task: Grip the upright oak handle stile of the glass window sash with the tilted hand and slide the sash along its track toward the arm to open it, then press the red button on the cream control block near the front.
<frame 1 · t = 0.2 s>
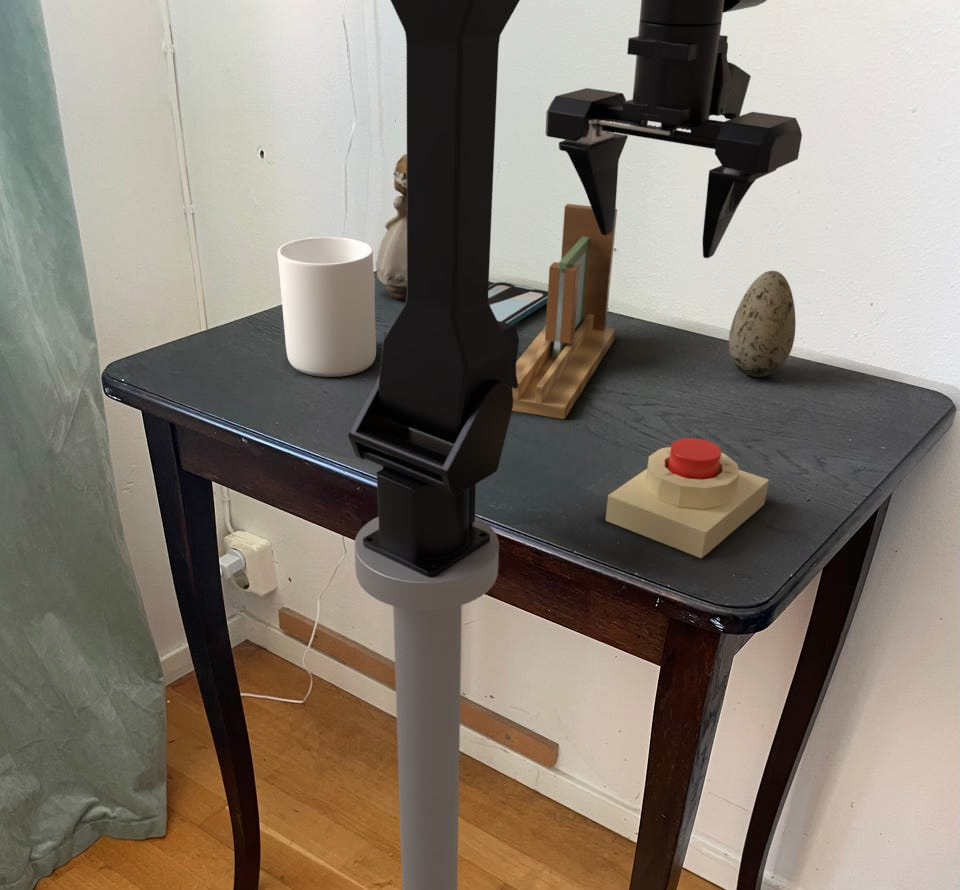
hand: (656, 245, 81), 15 cm above the table, tool pointing down, fingers open, 9 cm apart
smartphone: (492, 316, 111), on the table
decorative egg: (754, 376, 99), on the table
window frame: (558, 368, 99), on the table
figurine: (410, 297, 116), on the table
sash: (571, 296, 98), point 6 cm above the table, slide at 0.0 cm
control block: (685, 512, 77), on the table
button: (694, 459, 74), point 4 cm above the table, slide at 0.1 cm
mug: (342, 358, 101), on the table
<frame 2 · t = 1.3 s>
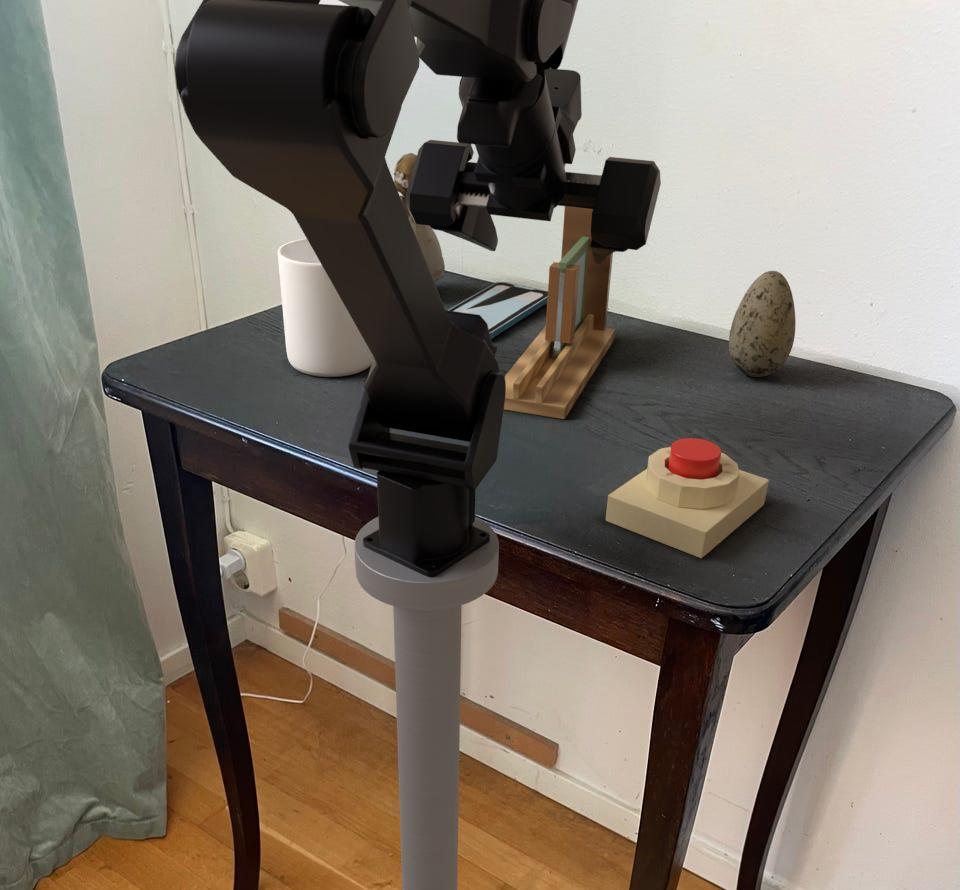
hand: (547, 252, 85), 13 cm above the table, tool tilted 45°, fingers open, 9 cm apart
nothing on the table moved.
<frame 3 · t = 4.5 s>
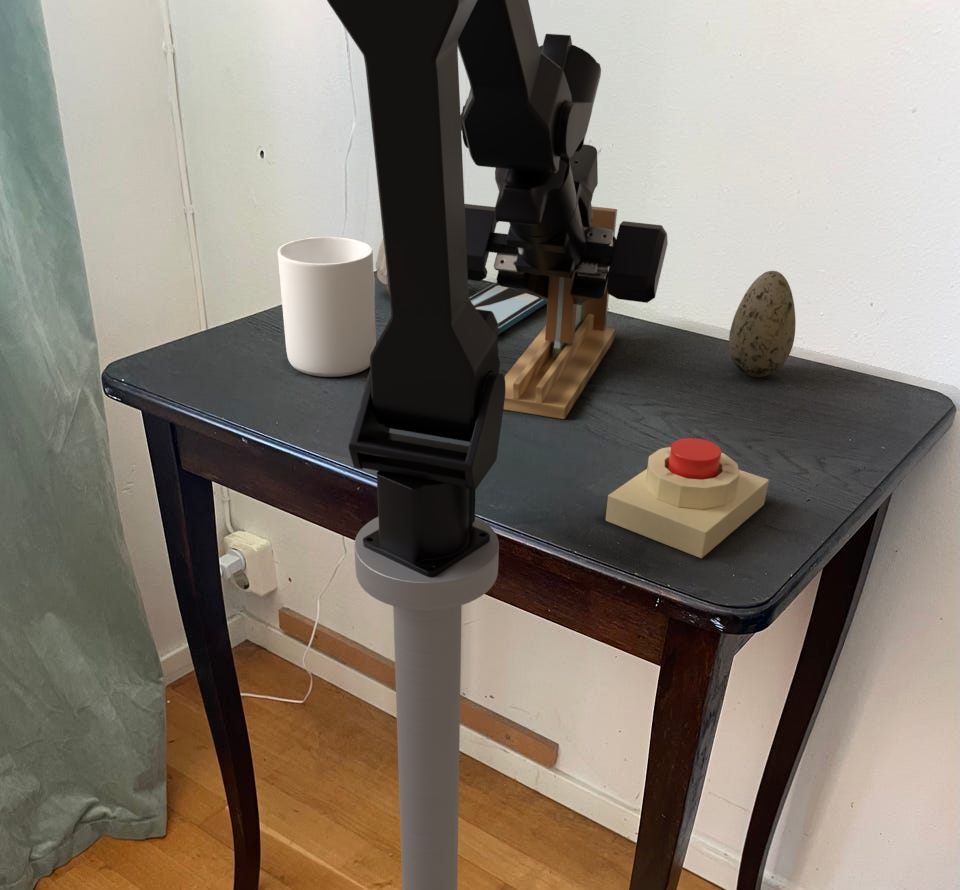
hand: (566, 298, 96), 7 cm above the table, tool tilted 45°, fingers closed on sash, 2 cm apart
sash: (571, 296, 98), point 6 cm above the table, slide at 0.0 cm, touching gripper
everything else where it was.
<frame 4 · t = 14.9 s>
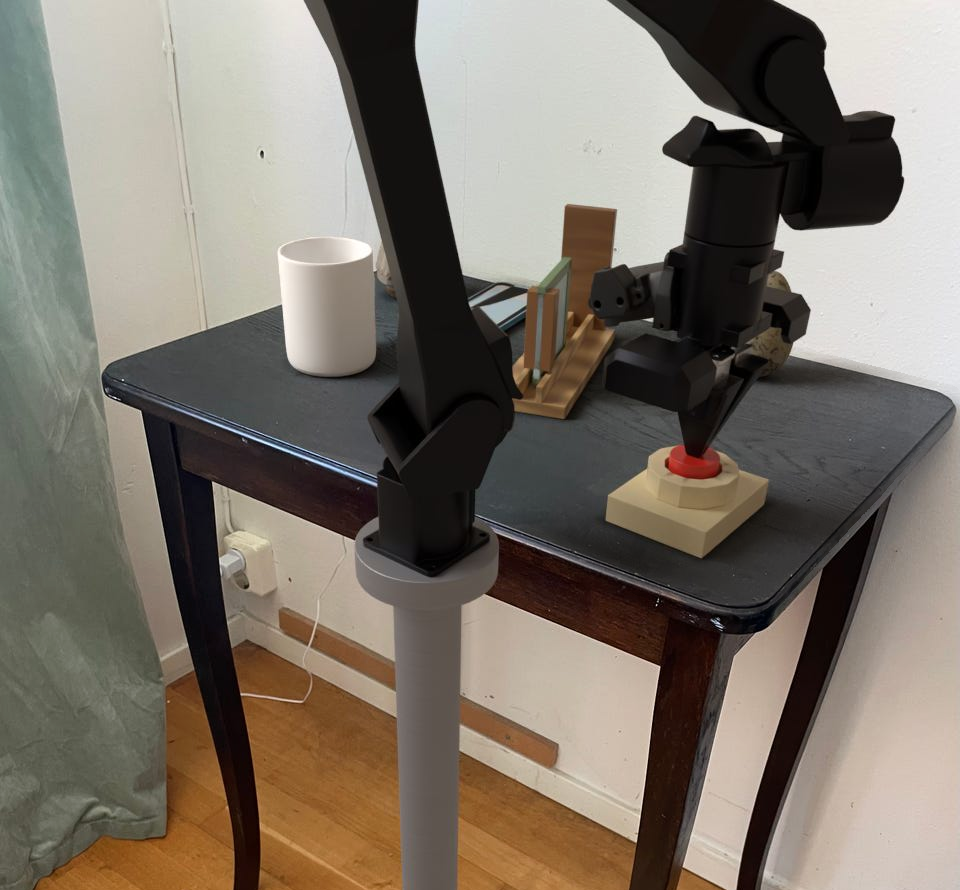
hand: (694, 454, 74), 5 cm above the table, tool pointing down, fingers closed, pressing on button
sash: (552, 320, 93), point 6 cm above the table, slide at 7.2 cm
button: (693, 465, 75), point 4 cm above the table, slide at -0.4 cm, touching gripper
everything else where it was.
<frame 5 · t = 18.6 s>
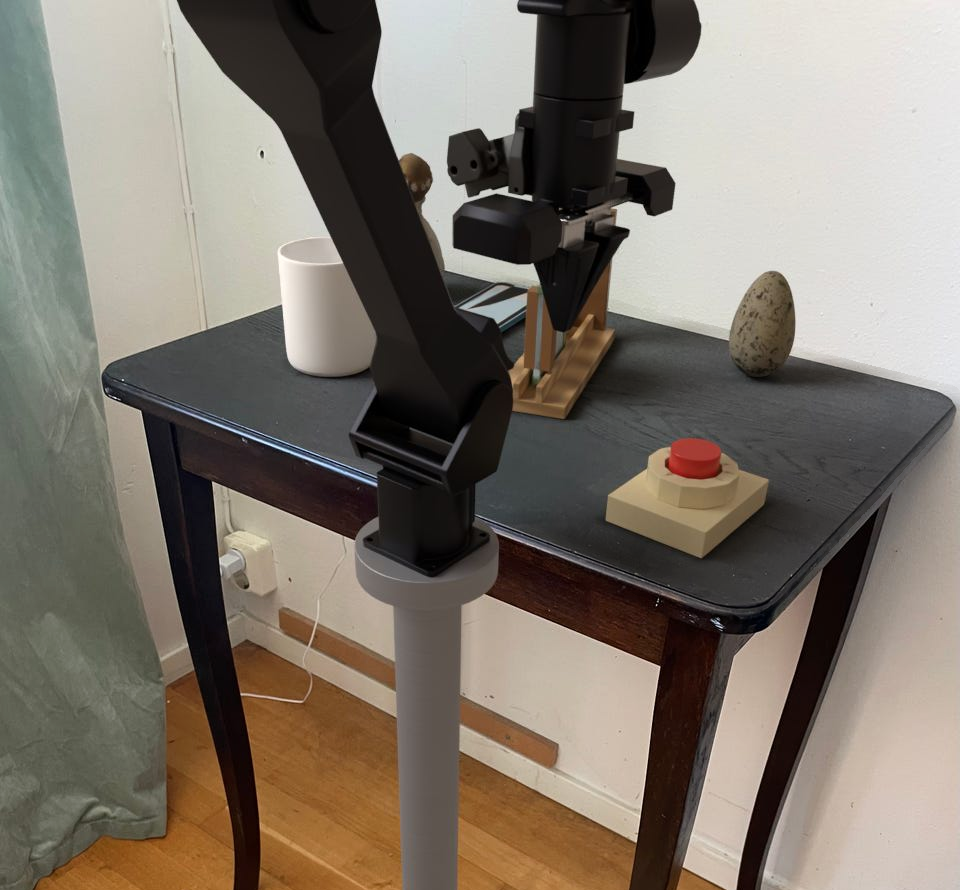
hand: (561, 330, 74), 12 cm above the table, tool pointing down, fingers closed
button: (694, 459, 74), point 4 cm above the table, slide at 0.1 cm
everything else where it was.
at the end: sash slide at 7.2 cm; button pushed in 1.1 cm at the most during the clip, back to where it started at the end; button slide at 0.1 cm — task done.
